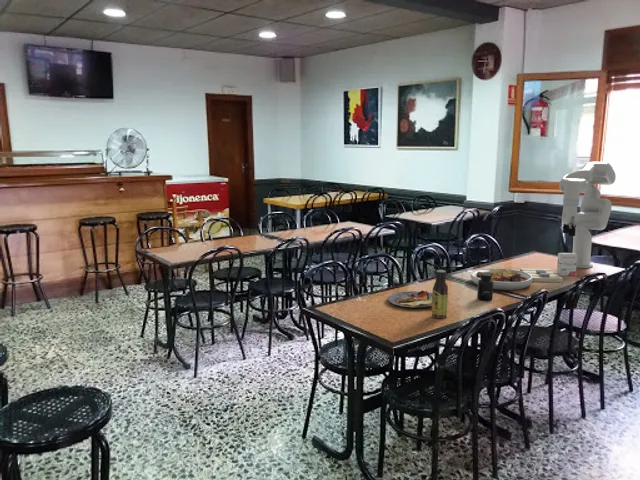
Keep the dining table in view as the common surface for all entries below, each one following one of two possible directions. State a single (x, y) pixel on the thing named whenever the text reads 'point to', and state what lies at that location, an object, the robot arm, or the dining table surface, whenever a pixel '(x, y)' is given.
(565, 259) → the ink box
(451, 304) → the dining table surface
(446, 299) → the sauce bottle
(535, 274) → the birch board
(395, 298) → the food plate
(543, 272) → the grey mark
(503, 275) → the bowl
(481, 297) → the supplement bottle
